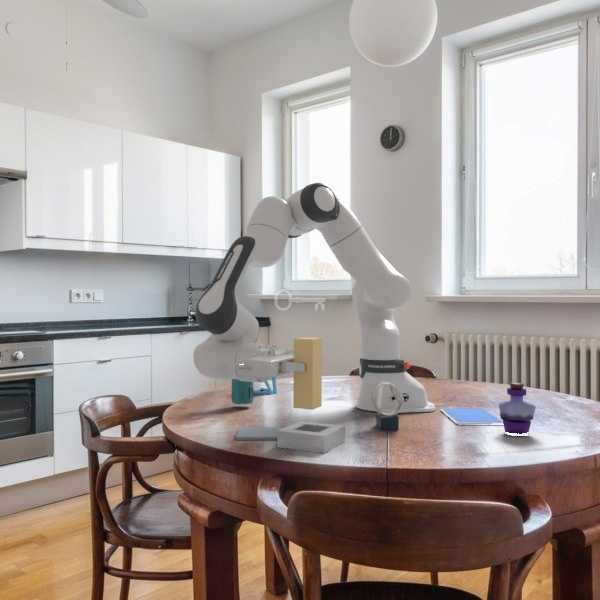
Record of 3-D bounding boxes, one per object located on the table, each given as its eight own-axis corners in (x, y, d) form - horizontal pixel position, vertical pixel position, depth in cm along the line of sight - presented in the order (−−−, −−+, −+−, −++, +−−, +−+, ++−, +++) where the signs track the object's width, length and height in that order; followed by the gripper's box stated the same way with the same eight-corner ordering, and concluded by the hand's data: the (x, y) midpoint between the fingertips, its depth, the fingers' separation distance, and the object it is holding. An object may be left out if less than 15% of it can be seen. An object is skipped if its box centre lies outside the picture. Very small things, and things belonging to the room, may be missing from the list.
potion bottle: (504, 428, 141) (504, 379, 141) (541, 433, 135) (541, 382, 135) (491, 434, 134) (491, 383, 134) (529, 440, 128) (529, 387, 128)
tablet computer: (439, 412, 163) (439, 407, 163) (483, 412, 163) (483, 407, 163) (456, 427, 144) (456, 422, 144) (507, 428, 144) (507, 422, 144)
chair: (268, 395, 188) (268, 359, 188) (247, 393, 192) (248, 357, 192) (281, 392, 194) (281, 356, 194) (261, 390, 199) (261, 355, 199)
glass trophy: (406, 430, 139) (406, 384, 139) (373, 430, 138) (373, 384, 138) (400, 424, 144) (401, 381, 144) (369, 425, 144) (369, 381, 144)
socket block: (300, 436, 133) (300, 420, 133) (344, 441, 128) (344, 425, 128) (277, 447, 123) (277, 430, 123) (324, 453, 118) (324, 436, 118)
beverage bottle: (250, 410, 163) (250, 339, 163) (227, 409, 165) (227, 339, 165) (256, 405, 170) (256, 338, 170) (235, 405, 171) (235, 337, 171)
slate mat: (281, 429, 139) (281, 427, 139) (280, 439, 129) (280, 437, 129) (239, 429, 139) (239, 427, 139) (235, 439, 129) (235, 437, 129)
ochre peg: (302, 404, 129) (303, 337, 129) (321, 406, 127) (321, 338, 127) (293, 407, 125) (293, 338, 125) (312, 409, 123) (312, 339, 123)
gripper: (231, 352, 122) (289, 355, 116) (277, 345, 141) (329, 347, 135) (231, 382, 122) (289, 386, 116) (277, 371, 141) (329, 374, 135)
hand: (311, 365), depth 126 cm, fingers closed on ochre peg, 5 cm apart
